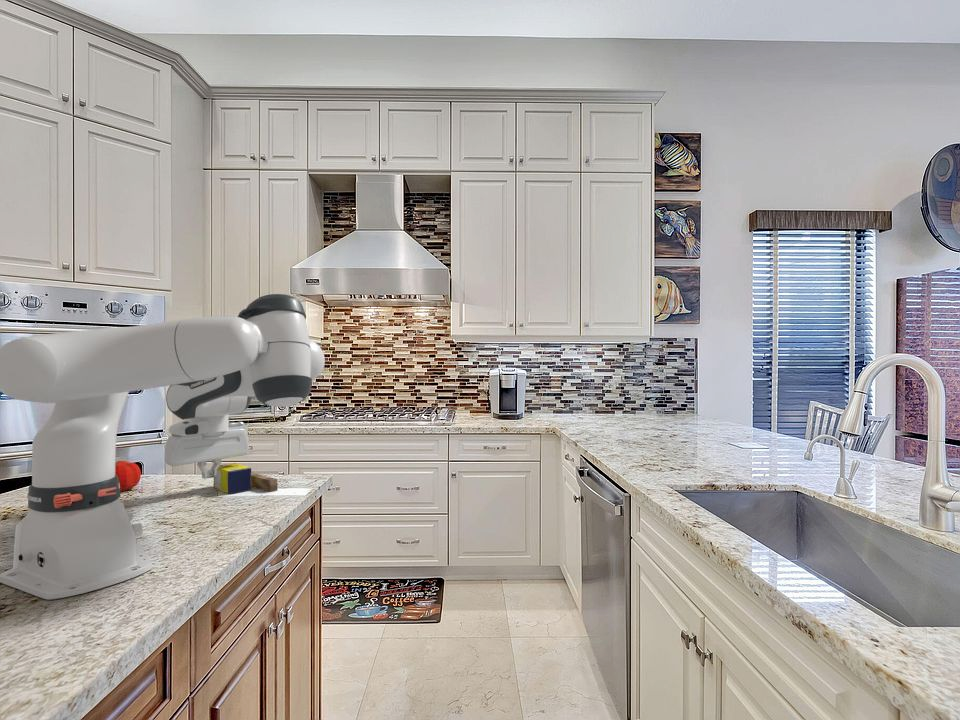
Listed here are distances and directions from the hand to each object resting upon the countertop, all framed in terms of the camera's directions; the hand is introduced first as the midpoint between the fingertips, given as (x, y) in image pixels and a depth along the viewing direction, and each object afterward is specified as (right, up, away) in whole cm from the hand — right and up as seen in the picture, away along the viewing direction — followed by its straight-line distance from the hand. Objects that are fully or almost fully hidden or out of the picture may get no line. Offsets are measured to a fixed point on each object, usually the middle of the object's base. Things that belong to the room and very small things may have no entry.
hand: (209, 477), depth 128 cm
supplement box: (+8, -1, +1) cm, 8 cm away
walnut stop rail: (+9, -4, +7) cm, 12 cm away
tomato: (-26, -4, +2) cm, 26 cm away
